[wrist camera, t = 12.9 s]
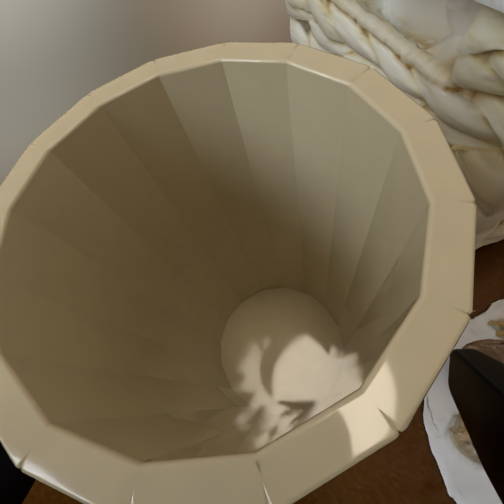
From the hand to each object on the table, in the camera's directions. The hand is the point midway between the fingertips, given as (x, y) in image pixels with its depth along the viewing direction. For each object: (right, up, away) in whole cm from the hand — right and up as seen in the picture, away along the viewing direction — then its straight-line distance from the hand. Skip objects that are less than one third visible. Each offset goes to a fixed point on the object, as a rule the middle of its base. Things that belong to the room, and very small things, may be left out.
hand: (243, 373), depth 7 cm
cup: (+2, -2, +9) cm, 9 cm away
